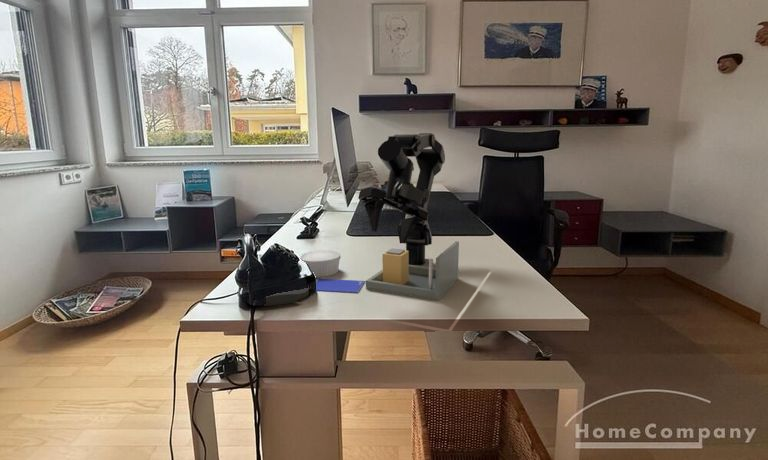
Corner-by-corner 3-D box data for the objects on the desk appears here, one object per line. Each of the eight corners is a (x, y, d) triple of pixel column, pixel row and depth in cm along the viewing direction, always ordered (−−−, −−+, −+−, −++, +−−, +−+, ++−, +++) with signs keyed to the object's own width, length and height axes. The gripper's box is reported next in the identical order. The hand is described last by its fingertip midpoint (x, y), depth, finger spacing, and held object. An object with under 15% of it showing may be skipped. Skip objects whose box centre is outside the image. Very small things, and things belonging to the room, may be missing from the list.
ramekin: (293, 272, 119) (292, 254, 118) (326, 264, 126) (326, 247, 125) (313, 283, 111) (312, 263, 110) (348, 273, 118) (348, 255, 117)
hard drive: (365, 280, 110) (319, 277, 112) (357, 291, 102) (308, 289, 104) (365, 285, 110) (319, 283, 112) (358, 297, 102) (308, 295, 104)
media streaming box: (246, 310, 96) (244, 297, 95) (247, 287, 109) (246, 276, 108) (311, 302, 99) (310, 290, 99) (304, 281, 113) (304, 270, 112)
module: (391, 277, 112) (390, 247, 110) (408, 280, 110) (408, 249, 108) (382, 283, 108) (382, 252, 106) (400, 286, 106) (400, 254, 104)
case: (392, 271, 119) (392, 234, 117) (457, 280, 111) (458, 241, 109) (366, 290, 105) (365, 249, 103) (438, 302, 97) (439, 258, 95)
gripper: (391, 156, 96) (379, 221, 92) (447, 186, 107) (438, 245, 103) (363, 167, 105) (350, 227, 101) (417, 194, 116) (408, 249, 111)
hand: (388, 237), depth 104 cm, fingers open, 9 cm apart
